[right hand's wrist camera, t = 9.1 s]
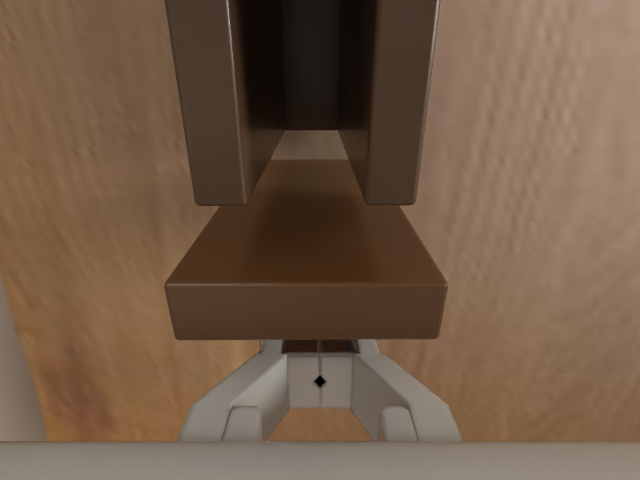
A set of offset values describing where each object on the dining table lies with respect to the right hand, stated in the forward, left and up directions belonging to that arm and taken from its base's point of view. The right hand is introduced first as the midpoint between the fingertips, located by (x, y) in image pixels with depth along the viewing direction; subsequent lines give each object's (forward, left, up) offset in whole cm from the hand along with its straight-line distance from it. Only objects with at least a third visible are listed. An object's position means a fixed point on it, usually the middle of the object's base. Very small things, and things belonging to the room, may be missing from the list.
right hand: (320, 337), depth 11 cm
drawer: (+9, -3, -5) cm, 11 cm away
